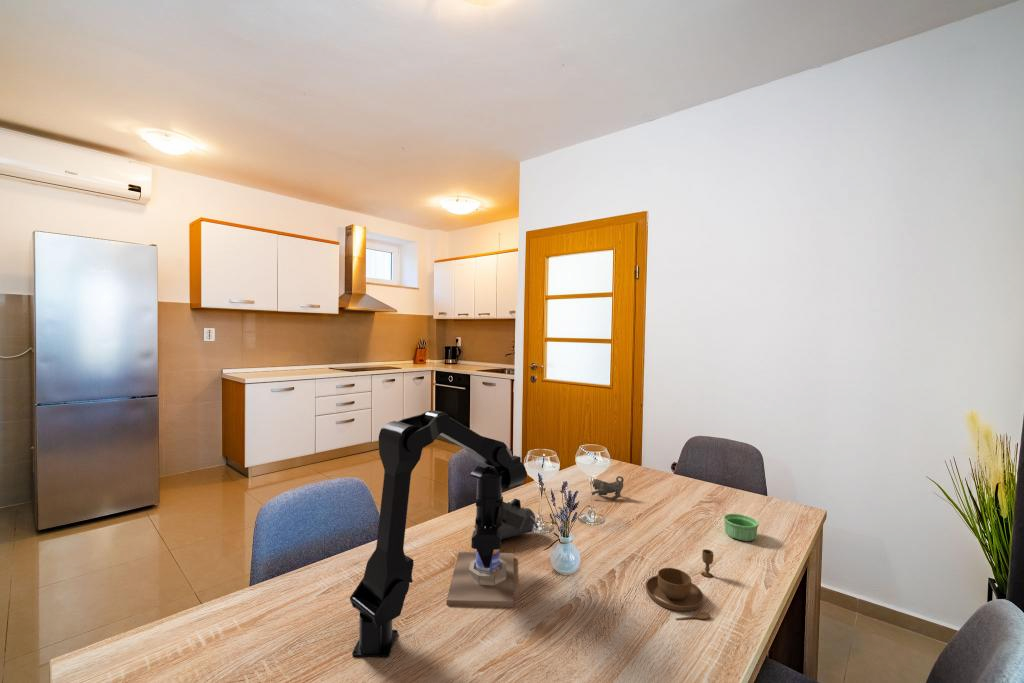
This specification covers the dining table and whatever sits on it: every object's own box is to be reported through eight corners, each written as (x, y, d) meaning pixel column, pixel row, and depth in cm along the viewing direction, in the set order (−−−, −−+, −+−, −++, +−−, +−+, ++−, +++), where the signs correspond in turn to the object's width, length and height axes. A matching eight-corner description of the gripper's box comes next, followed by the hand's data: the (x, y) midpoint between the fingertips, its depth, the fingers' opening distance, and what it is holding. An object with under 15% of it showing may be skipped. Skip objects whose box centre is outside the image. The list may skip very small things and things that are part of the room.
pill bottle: (496, 579, 98) (497, 536, 98) (472, 576, 99) (473, 533, 99) (501, 567, 104) (502, 526, 103) (479, 564, 105) (480, 523, 104)
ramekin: (727, 539, 124) (727, 524, 124) (720, 526, 133) (720, 511, 132) (762, 544, 122) (762, 528, 122) (752, 530, 130) (753, 515, 130)
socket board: (513, 607, 92) (513, 592, 92) (446, 605, 92) (446, 590, 92) (513, 557, 112) (513, 545, 112) (458, 556, 112) (458, 544, 112)
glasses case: (525, 526, 130) (525, 500, 130) (543, 541, 121) (544, 513, 120) (468, 538, 122) (468, 510, 121) (483, 556, 112) (484, 525, 112)
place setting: (630, 576, 105) (631, 552, 105) (707, 571, 108) (708, 547, 108) (668, 625, 88) (669, 596, 88) (758, 617, 91) (759, 589, 91)
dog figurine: (621, 494, 157) (621, 473, 157) (624, 500, 151) (625, 479, 151) (587, 493, 158) (588, 472, 158) (589, 499, 152) (590, 478, 152)
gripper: (525, 511, 92) (523, 584, 92) (523, 480, 110) (522, 542, 111) (471, 509, 92) (470, 583, 92) (479, 479, 110) (477, 541, 111)
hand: (487, 560), depth 101 cm, fingers closed on pill bottle, 5 cm apart
